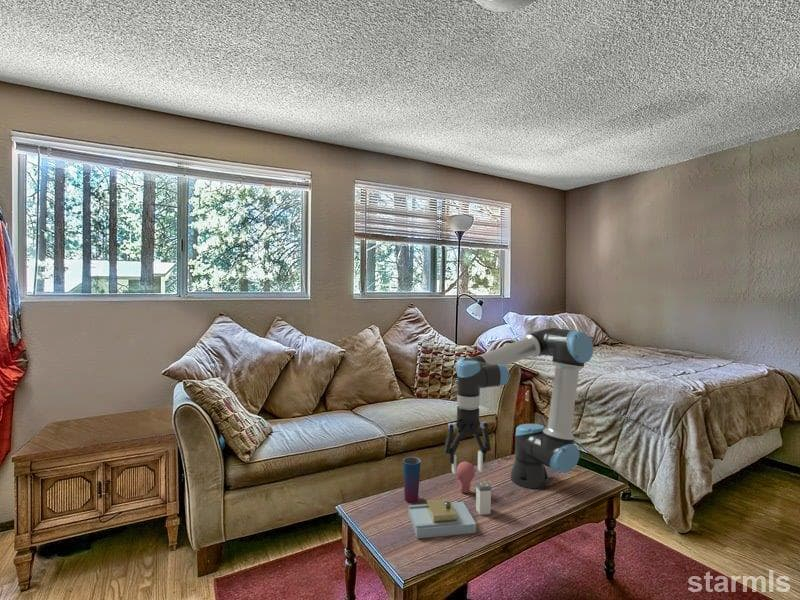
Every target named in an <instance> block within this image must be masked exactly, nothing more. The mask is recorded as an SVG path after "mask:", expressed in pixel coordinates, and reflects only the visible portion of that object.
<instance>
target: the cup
mask: <svg viewBox="0 0 800 600" xmlns="http://www.w3.org/2000/svg"><path fill="white" fill-rule="evenodd" d="M421 460H422V459H420V458H419V457H416V456H408V457H407V456H406V457H405V458H403V459H402V470H403V471H402V472H403V489H404V490H403V491H404V500H405V502H406V503H411V504H413V503H417V502H418V500H419V491H420V489H419V488H420V478H421V477H420V475H421V464H422V463H421V462H422V461H421Z"/></svg>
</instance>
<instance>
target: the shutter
mask: <svg viewBox="0 0 800 600" xmlns="http://www.w3.org/2000/svg"><path fill="white" fill-rule="evenodd" d="M451 503H452V502H451V500H450V499H449V498H441V499H439V498H438V499H437V498H436V499H426V504H427V505H426V507H427V510H428V512H429V514H430V517H431V519H432V521H433V523H440V522H451V521H457V513H456V511H455V509H454V508H453V506H452V504H451Z"/></svg>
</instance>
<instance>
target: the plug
mask: <svg viewBox="0 0 800 600" xmlns="http://www.w3.org/2000/svg"><path fill="white" fill-rule="evenodd" d="M475 483H476V485H475V490H476V491H475V509H476V512H477V513H478V515H479V516H483V515H484V516H485V515H491V514H492V513H491V511H492V510H491V506H492V505H491V504H492V501H491V500H492V486H491V484H490V483H489V482H488V481H487V480H486V481H485V480H484V481H476V482H475Z"/></svg>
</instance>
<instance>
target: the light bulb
mask: <svg viewBox="0 0 800 600" xmlns="http://www.w3.org/2000/svg"><path fill="white" fill-rule="evenodd" d="M475 469H476V468H475V467H474V466H473V464H472V463H471V462H469V461H462V462H460V463H459V464H458V465H456V475H457V477H458V479H459V483H460V485H459V490H460V492H461V493H465V494H466V493H467V494H468V493H470V491H471V490H470V489H471V485H472V484H471V482H472V481H473V479H474V477H475V475H476V472H475V471H476V470H475Z"/></svg>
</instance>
